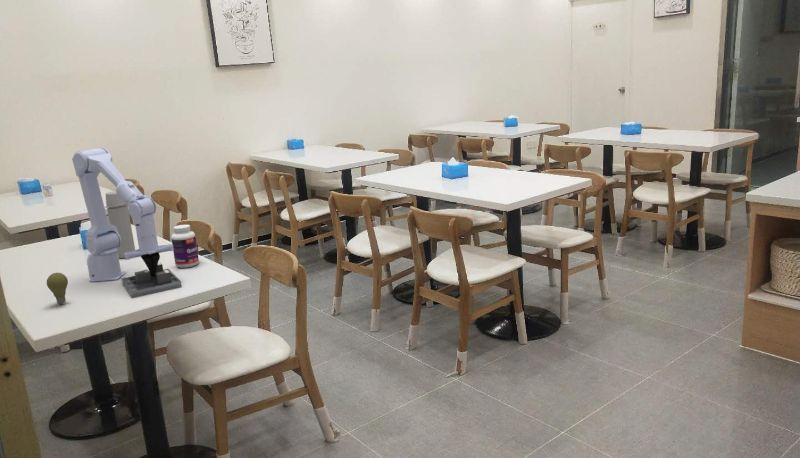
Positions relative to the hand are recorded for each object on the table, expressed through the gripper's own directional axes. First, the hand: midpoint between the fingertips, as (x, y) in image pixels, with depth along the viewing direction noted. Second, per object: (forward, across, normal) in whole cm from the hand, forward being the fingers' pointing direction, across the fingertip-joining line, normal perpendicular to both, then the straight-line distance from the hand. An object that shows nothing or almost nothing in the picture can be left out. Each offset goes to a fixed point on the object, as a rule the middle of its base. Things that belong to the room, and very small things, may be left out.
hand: (153, 276), depth 198 cm
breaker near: (+2, +2, -5) cm, 6 cm away
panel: (+3, -1, 0) cm, 3 cm away
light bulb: (+3, -27, +1) cm, 27 cm away
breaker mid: (+2, -3, 0) cm, 4 cm away
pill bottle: (+3, +14, +14) cm, 20 cm away
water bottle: (+3, -2, +44) cm, 45 cm away
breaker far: (+2, +2, +6) cm, 6 cm away
